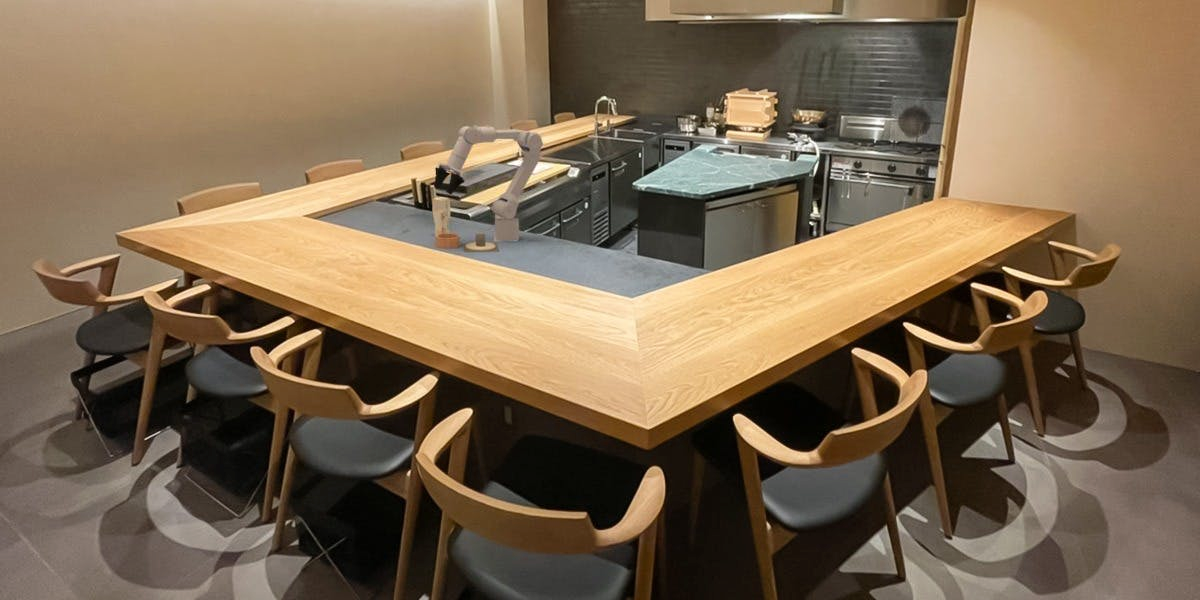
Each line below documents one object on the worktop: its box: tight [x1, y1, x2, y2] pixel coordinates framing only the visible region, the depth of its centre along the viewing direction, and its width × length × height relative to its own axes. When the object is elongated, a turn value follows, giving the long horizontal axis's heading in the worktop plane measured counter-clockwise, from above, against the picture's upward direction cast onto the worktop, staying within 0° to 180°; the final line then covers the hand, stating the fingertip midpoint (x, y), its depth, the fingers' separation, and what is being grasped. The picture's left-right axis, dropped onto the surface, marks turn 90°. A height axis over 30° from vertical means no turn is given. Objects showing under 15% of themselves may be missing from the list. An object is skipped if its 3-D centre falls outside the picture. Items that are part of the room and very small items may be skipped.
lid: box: [466, 233, 495, 251], centre depth 251 cm, size 11×11×5 cm
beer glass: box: [431, 196, 451, 237], centre depth 267 cm, size 7×7×15 cm
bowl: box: [435, 232, 461, 249], centre depth 252 cm, size 9×9×4 cm
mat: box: [462, 242, 500, 253], centre depth 252 cm, size 13×13×1 cm
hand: (442, 190), depth 246 cm, fingers open, 7 cm apart
